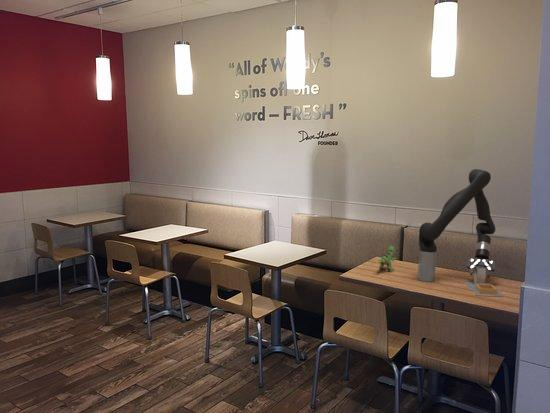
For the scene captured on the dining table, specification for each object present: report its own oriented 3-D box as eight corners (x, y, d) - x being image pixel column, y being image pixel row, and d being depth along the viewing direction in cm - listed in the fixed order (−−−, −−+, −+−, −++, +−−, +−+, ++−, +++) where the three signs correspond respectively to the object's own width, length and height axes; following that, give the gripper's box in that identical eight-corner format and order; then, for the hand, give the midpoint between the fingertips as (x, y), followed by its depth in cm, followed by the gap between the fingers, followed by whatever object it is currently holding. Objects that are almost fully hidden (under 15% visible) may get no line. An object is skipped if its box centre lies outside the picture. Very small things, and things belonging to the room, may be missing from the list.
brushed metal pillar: (476, 285, 274) (477, 268, 273) (473, 283, 278) (475, 266, 277) (484, 286, 274) (485, 268, 272) (482, 283, 278) (483, 266, 277)
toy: (395, 267, 314) (396, 244, 311) (398, 276, 293) (399, 252, 291) (376, 266, 315) (377, 243, 313) (378, 275, 294) (379, 251, 292)
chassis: (475, 295, 259) (475, 289, 259) (464, 283, 281) (464, 277, 280) (503, 297, 258) (503, 290, 257) (489, 284, 279) (490, 278, 279)
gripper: (469, 246, 284) (466, 270, 275) (496, 249, 277) (493, 274, 269) (469, 253, 289) (466, 277, 281) (496, 256, 283) (493, 281, 274)
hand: (479, 275), depth 275 cm, fingers open, 8 cm apart
